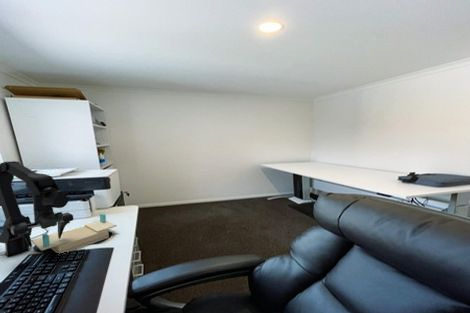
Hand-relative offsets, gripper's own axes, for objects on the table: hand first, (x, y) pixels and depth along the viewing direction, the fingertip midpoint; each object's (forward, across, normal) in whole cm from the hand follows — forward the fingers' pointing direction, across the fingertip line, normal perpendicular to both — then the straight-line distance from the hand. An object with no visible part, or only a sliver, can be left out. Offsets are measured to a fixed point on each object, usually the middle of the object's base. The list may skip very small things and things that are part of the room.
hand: (45, 242), depth 89 cm
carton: (+6, +13, +5) cm, 16 cm away
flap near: (+2, +3, +5) cm, 6 cm away
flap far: (+2, +23, +5) cm, 24 cm away
